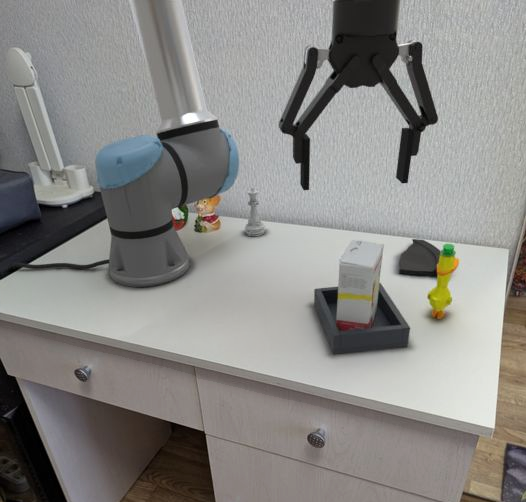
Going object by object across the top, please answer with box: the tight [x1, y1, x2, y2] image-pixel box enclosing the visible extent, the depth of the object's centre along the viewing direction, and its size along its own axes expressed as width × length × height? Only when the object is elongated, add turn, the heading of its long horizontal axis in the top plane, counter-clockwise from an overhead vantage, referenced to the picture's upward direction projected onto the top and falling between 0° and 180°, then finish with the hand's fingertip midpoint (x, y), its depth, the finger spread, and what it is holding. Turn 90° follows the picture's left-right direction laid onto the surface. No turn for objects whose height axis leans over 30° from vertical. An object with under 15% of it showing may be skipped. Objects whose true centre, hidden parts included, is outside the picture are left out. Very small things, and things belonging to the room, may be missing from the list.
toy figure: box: [426, 243, 460, 320], centre depth 75 cm, size 7×4×12 cm, turn 142°
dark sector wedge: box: [398, 238, 441, 277], centre depth 94 cm, size 8×14×2 cm, turn 163°
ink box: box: [336, 239, 385, 331], centre depth 72 cm, size 9×5×12 cm, turn 159°
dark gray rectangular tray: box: [313, 282, 411, 355], centre depth 76 cm, size 11×14×3 cm
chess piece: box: [244, 187, 266, 237], centre depth 106 cm, size 4×4×10 cm
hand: (353, 184), depth 68 cm, fingers open, 13 cm apart
